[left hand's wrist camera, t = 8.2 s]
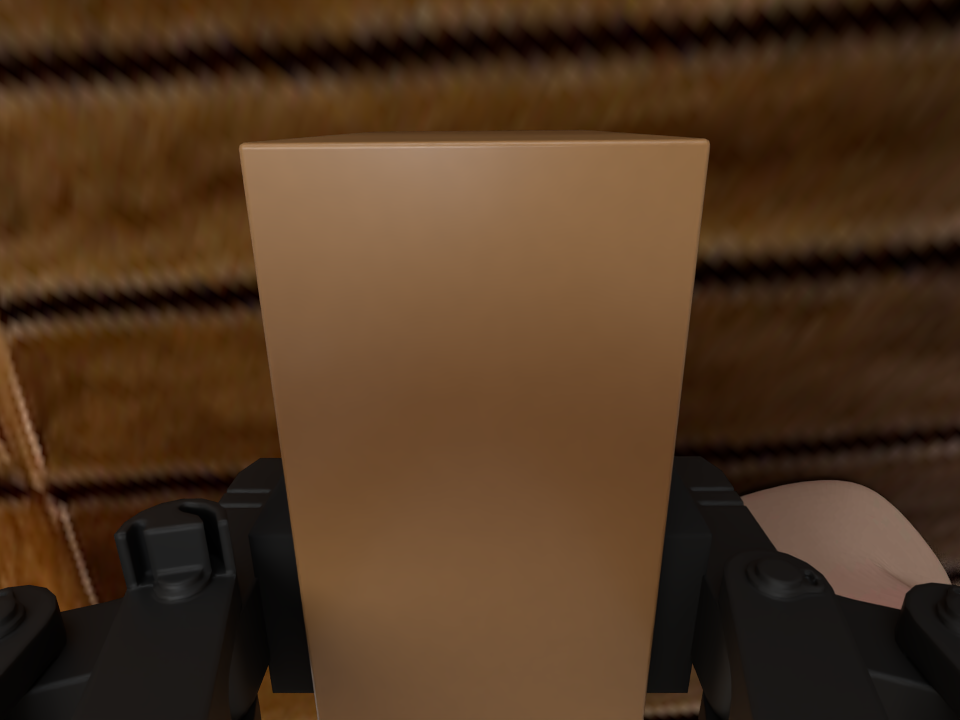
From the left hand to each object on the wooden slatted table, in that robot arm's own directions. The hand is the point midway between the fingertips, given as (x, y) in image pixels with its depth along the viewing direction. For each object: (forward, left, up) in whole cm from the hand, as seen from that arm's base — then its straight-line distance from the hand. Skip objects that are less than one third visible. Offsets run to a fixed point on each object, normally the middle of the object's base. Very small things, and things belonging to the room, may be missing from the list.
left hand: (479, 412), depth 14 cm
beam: (+2, +23, -1) cm, 23 cm away
